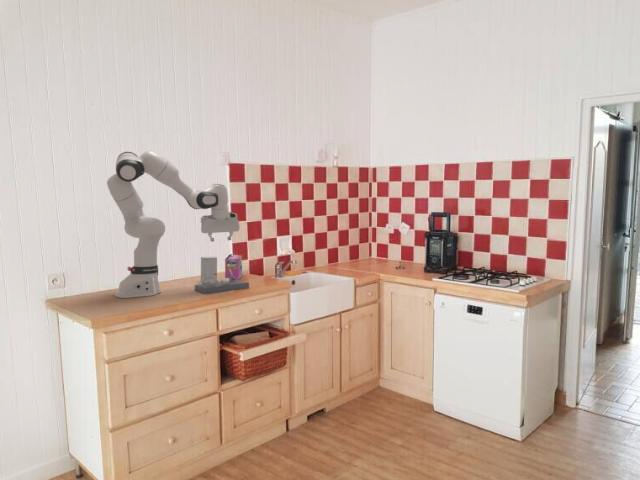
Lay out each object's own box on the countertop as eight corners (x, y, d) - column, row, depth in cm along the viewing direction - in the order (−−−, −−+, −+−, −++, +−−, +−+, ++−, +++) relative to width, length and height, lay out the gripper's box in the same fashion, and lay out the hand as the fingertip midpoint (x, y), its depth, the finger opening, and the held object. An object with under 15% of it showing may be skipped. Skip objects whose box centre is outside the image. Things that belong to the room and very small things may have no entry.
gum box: (230, 275, 311) (229, 253, 310) (242, 275, 312) (242, 253, 310) (224, 281, 287) (224, 258, 286) (238, 281, 288) (238, 258, 287)
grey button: (209, 284, 253) (209, 281, 253) (205, 283, 257) (205, 280, 257) (217, 283, 256) (217, 280, 256) (213, 282, 260) (213, 279, 259)
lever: (232, 281, 271) (227, 265, 269) (230, 280, 273) (225, 265, 270) (236, 279, 273) (230, 263, 270) (234, 278, 275) (228, 263, 272)
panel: (205, 294, 251) (205, 288, 251) (194, 290, 260) (194, 284, 260) (248, 287, 268) (248, 282, 268) (237, 284, 277) (237, 279, 277)
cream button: (223, 283, 259) (223, 279, 258) (219, 281, 262) (219, 278, 262) (230, 282, 261) (230, 278, 261) (226, 281, 265) (226, 277, 265)
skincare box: (203, 283, 281) (203, 257, 280) (200, 281, 286) (200, 256, 285) (217, 282, 285) (217, 256, 284) (214, 280, 290) (214, 255, 289)
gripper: (202, 215, 252) (203, 242, 254) (240, 214, 262) (240, 240, 264) (198, 215, 257) (199, 241, 259) (235, 213, 268) (236, 239, 269)
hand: (220, 240), depth 261 cm, fingers open, 8 cm apart
